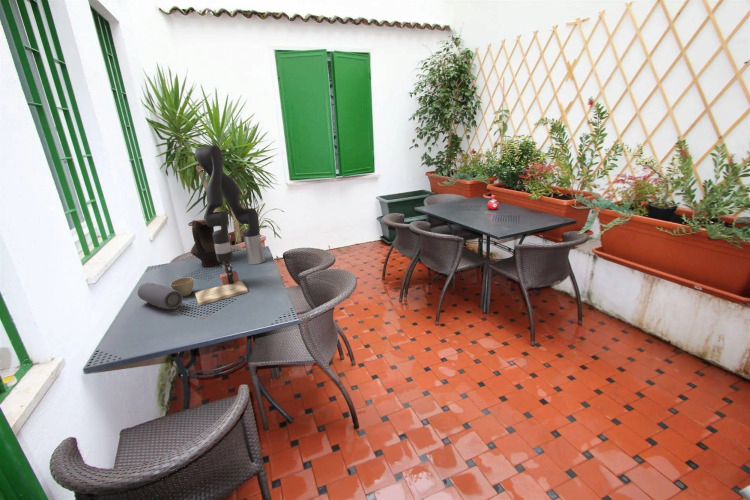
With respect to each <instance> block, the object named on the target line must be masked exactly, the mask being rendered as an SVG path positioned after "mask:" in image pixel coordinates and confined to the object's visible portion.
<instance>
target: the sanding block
mask: <svg viewBox="0 0 750 500" xmlns="http://www.w3.org/2000/svg"><path fill="white" fill-rule="evenodd" d="M232 273H233V276H232V278H233V282H237V281H240V279H239V278H240V277H239V274H238V272H237V270H232ZM230 274H231V273H229V275H230ZM219 277H220V278H219V279H220V282H221V286H222V285H226V284H229V282H228V277H227V274H226V273H225V272H224V273H220V274H219Z"/></svg>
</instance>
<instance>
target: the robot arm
mask: <svg viewBox="0 0 750 500" xmlns="http://www.w3.org/2000/svg"><path fill="white" fill-rule="evenodd" d="M194 156H195V159H196V162H198V164H199V166H201V168H202V169H203V170H204V171H205V172H206V174H207V175H208V176H209V177H210V178H209V181H208V182H207V185H206V191H205V192H206V193H205V195H206V203H207V204H206V211H205V215H204V220H205V222H206V224H207V225H208V226H209V227H214V228H215V227H220V228H221V229H218V230H216V231H215V230H214V232H213V240H214V245H215V252H216V256H217V260H218V261H219V262H221V266H222V270H223V272H224V273H226V274H227V277H228V282H229V284H233V283H234V282H233V278H232V276H233V273H232V271H233V267H232V263H231V262H230V261H232V260H233V259H234V255H233V250H232V246H231V242H230V238H229V231H228V230H229V220H230V219H229V214H228V213H227V212H226V211H215V210H216V209H218V208H221V207H223V205H224V200H225V202H226V203H227V204H228V206H229V207H230V210H231V212H232V213H233V215H234V217H235V220H237V222H238V223H239V224H241V225H248V228H247V229H244V230H243V231H242V237H243V242H244V246H245V251H246V257H247V262H248V264H249V265H259V264H262V263H264V262H266V257H265V252H264V247H263V244H262V240H261V235H260V222H259V216H258V215H259V214H258V212H257V209H256V208H251V207H250V208H248V207H247V208H246V207H245V208H244V207H243V206H242V205H241V204H240V196H241V190H240V188H239V186H238V185H237V183H236V181H235V180H234V179H233V178H232V177H230V176H229V175H228V174H226V173H225V172H223V164H224V163H223V161H224V159H223V151H222V149H221V147H219V146H218V145H216V144H211V145H206V146H205V145H204V146H200V147H196V148H195V151H194ZM223 199H224V200H223ZM229 273H231V274H230V275H229Z"/></svg>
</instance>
